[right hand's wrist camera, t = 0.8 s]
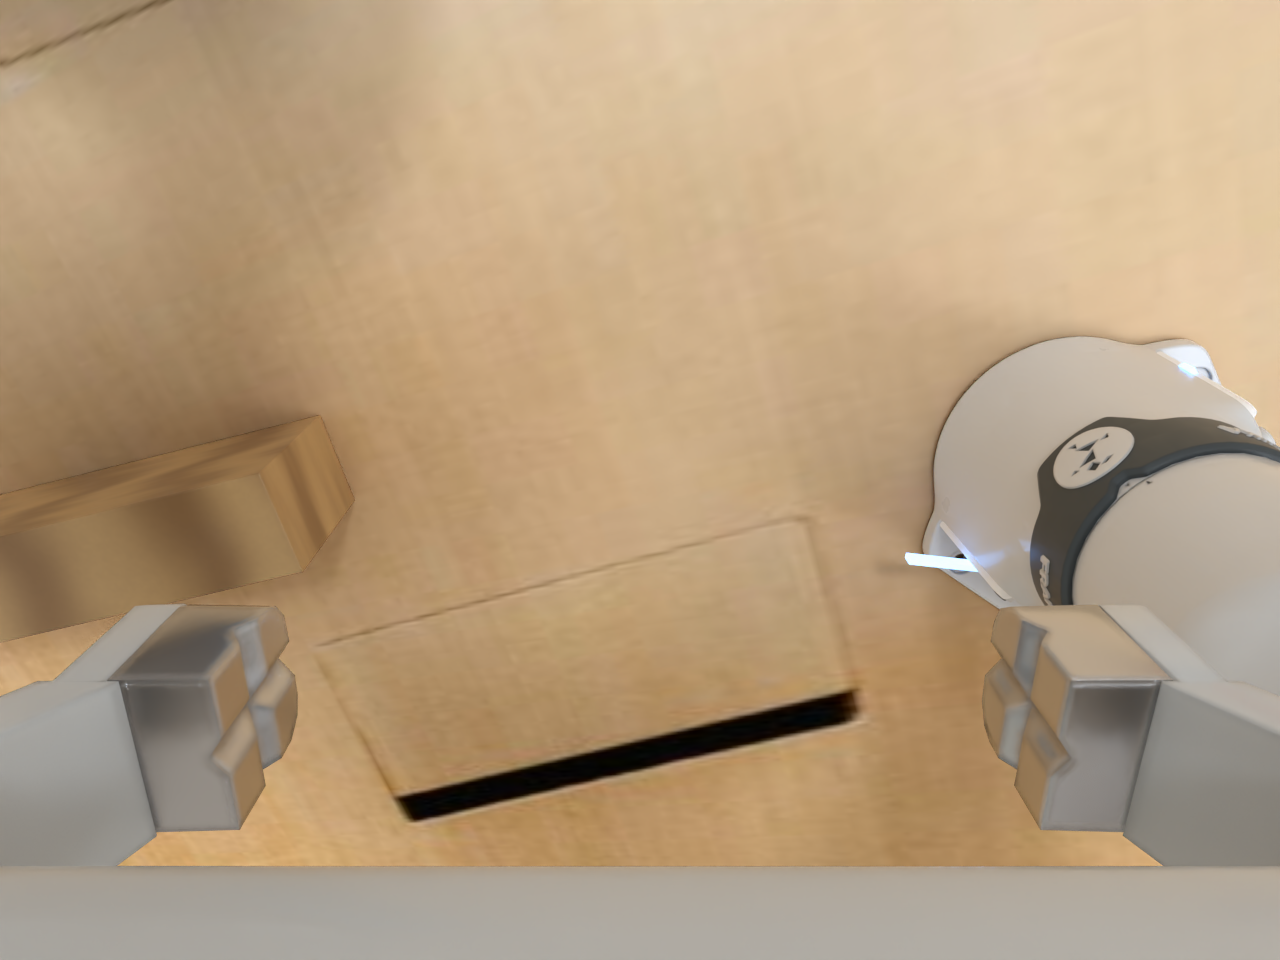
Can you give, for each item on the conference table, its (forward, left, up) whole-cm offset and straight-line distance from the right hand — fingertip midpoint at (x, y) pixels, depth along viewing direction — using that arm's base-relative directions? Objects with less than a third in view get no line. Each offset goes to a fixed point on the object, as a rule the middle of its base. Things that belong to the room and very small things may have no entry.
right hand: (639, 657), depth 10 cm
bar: (+10, +32, -40) cm, 52 cm away
